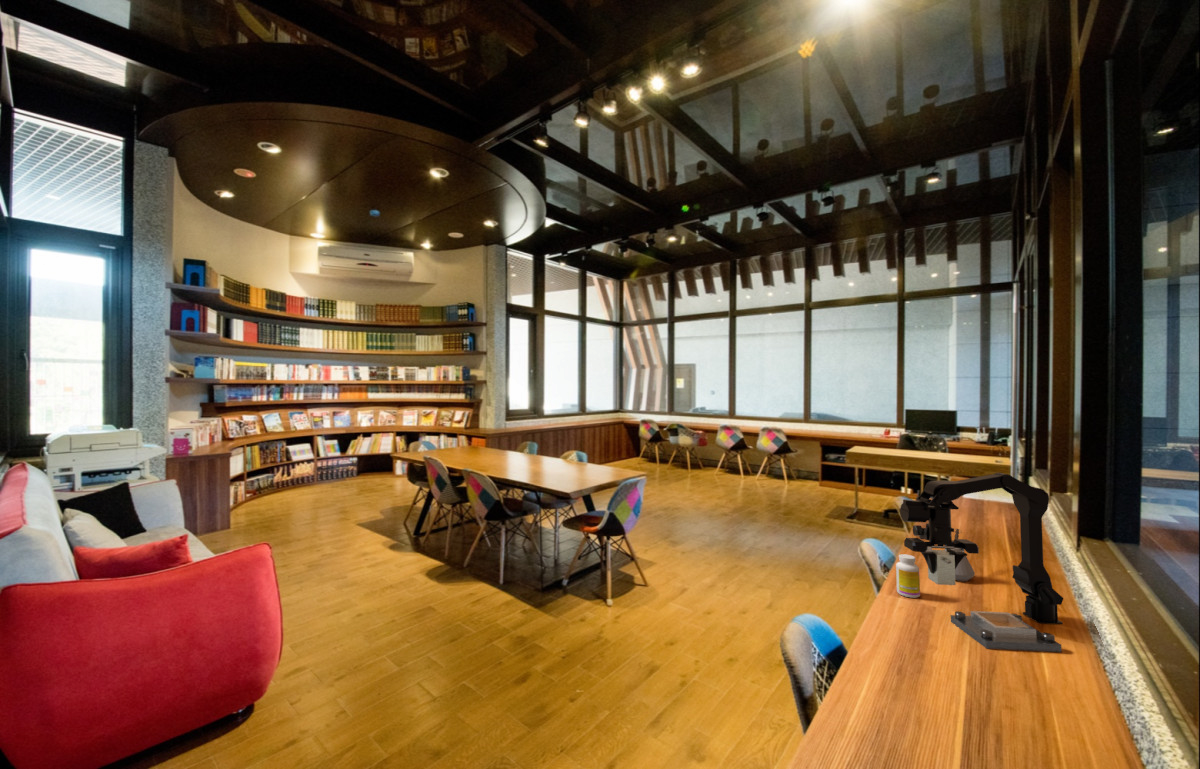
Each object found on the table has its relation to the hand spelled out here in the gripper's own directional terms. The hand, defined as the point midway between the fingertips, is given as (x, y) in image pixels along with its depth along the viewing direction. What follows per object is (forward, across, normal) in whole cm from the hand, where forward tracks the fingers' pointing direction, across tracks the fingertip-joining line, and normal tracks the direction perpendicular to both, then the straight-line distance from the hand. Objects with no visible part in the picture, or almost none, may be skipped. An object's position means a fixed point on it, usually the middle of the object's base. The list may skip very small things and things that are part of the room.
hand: (941, 573), depth 144 cm
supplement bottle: (+13, +3, -14) cm, 19 cm away
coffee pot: (+12, -25, -36) cm, 46 cm away
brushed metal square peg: (+3, 0, 0) cm, 3 cm away
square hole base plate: (+12, -8, +13) cm, 20 cm away
